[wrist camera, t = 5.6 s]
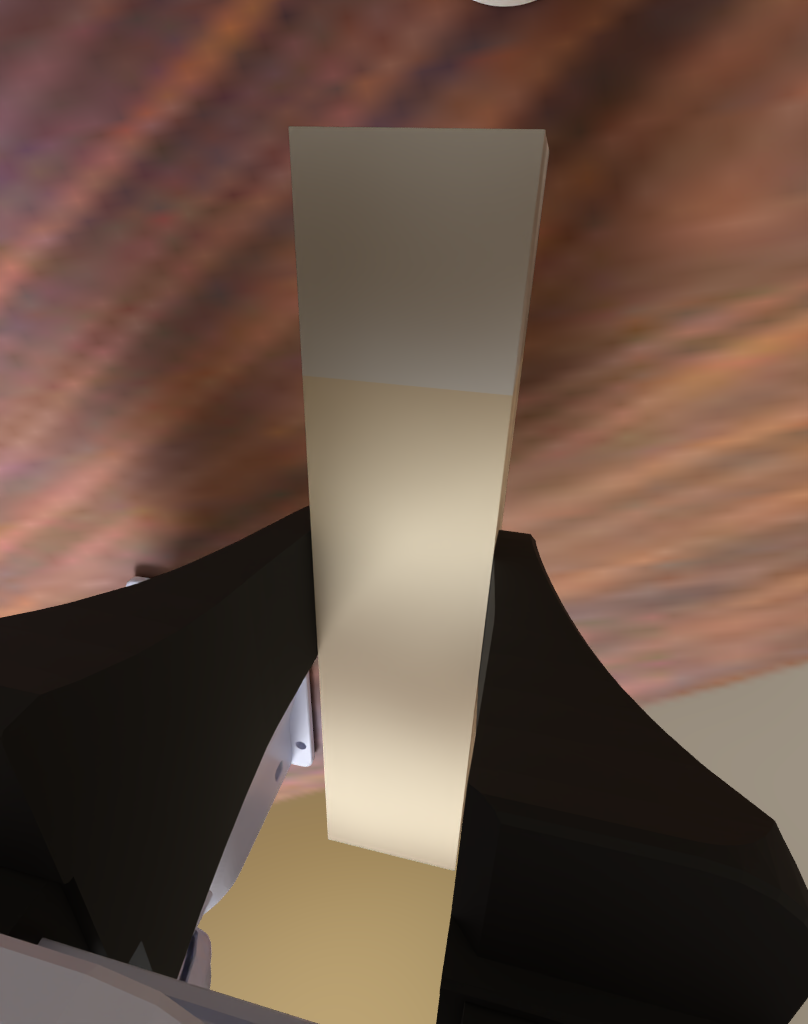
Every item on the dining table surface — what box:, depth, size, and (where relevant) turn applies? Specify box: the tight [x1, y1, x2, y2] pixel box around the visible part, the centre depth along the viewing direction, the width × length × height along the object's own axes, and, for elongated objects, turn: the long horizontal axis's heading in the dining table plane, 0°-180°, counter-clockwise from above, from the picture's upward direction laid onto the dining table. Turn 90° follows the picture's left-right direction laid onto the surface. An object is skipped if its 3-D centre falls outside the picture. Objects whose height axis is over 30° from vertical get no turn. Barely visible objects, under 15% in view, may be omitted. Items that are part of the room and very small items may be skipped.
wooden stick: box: [289, 126, 549, 871], centre depth 12 cm, size 14×3×4 cm, turn 178°
